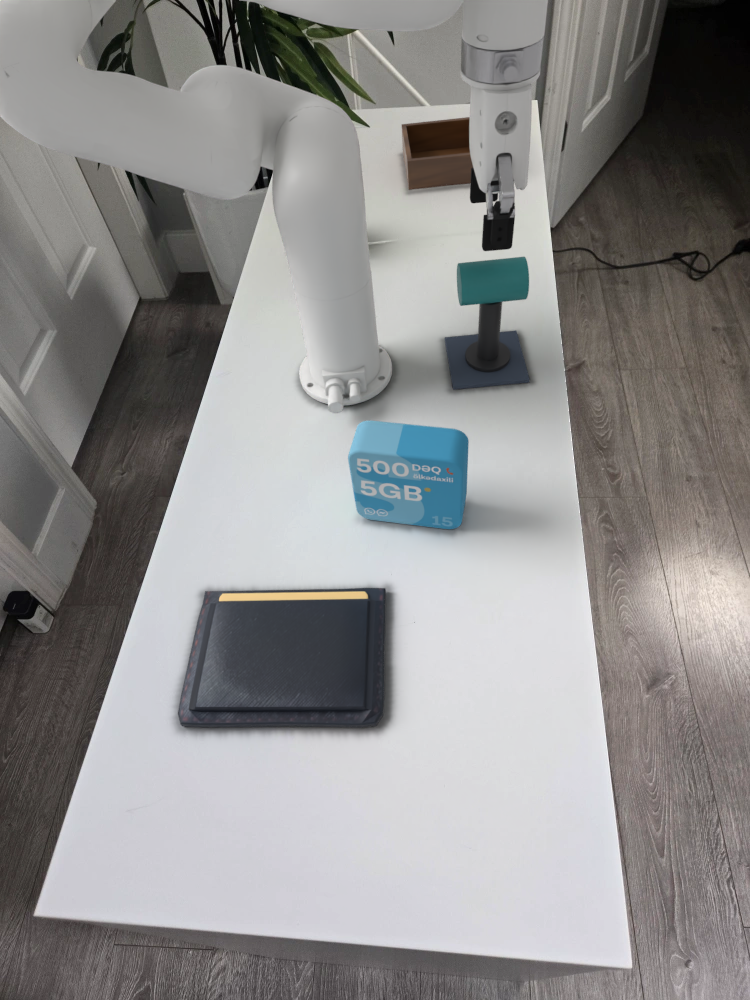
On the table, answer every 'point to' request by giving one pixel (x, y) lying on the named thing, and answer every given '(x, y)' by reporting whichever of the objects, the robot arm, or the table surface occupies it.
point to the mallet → (491, 305)
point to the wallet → (287, 659)
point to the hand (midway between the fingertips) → (489, 224)
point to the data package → (409, 473)
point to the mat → (472, 378)
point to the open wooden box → (437, 153)
